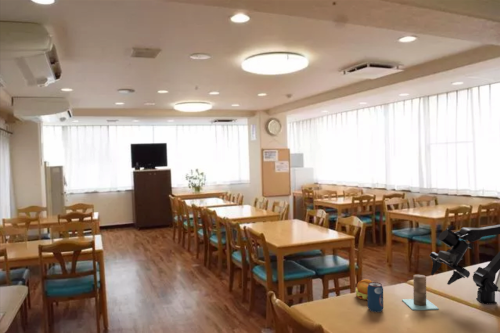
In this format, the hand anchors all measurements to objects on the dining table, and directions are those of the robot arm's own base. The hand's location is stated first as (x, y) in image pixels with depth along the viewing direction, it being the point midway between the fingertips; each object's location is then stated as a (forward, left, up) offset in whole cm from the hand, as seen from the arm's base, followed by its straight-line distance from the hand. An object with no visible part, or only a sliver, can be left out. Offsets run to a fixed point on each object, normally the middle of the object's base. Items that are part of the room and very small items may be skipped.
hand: (439, 279), depth 186 cm
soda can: (+32, +5, -12) cm, 35 cm away
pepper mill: (+10, +1, -11) cm, 15 cm away
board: (+10, +1, -12) cm, 15 cm away
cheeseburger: (+32, -10, -12) cm, 36 cm away
